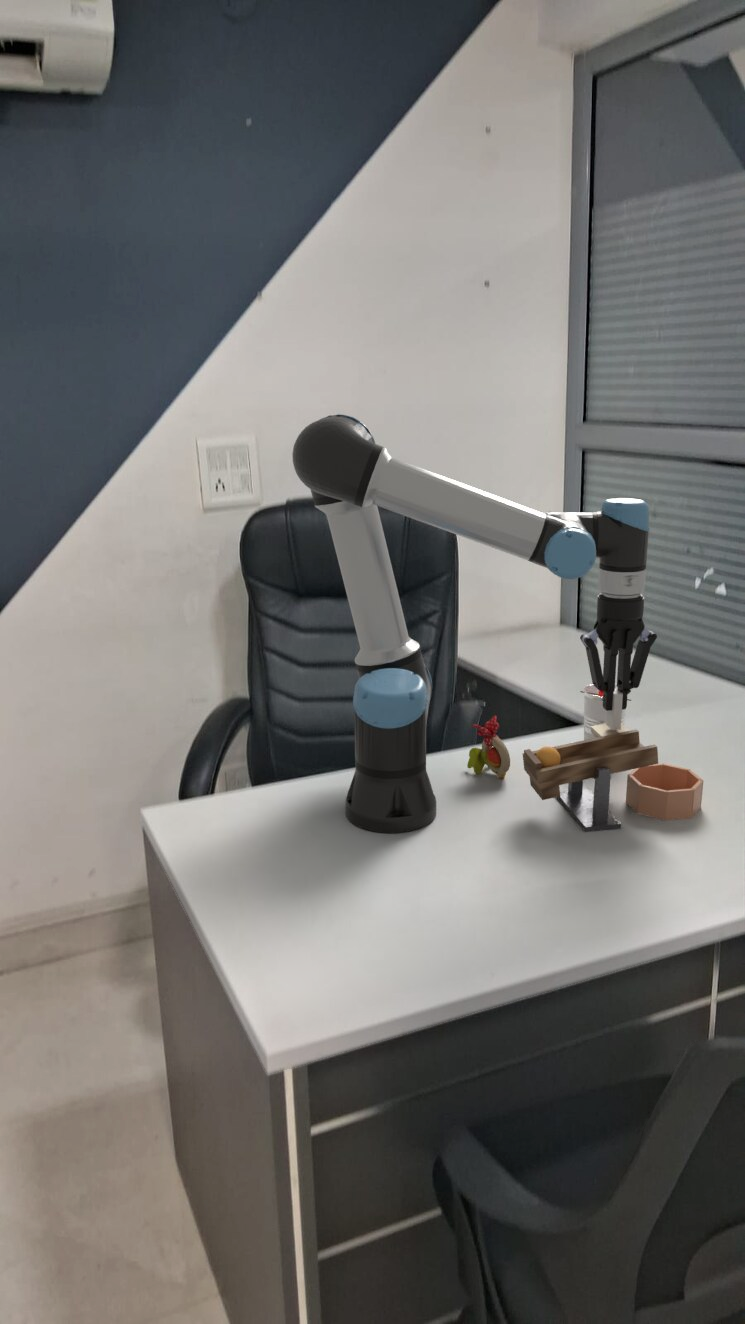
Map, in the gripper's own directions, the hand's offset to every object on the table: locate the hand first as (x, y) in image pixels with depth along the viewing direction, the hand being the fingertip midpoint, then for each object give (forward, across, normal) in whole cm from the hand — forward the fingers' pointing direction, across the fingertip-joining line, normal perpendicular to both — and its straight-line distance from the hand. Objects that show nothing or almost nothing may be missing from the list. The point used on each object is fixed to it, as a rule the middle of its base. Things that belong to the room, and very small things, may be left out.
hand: (613, 727), depth 170 cm
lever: (+6, -7, -5) cm, 10 cm away
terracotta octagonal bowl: (+11, +6, -8) cm, 15 cm away
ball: (+1, -15, -8) cm, 17 cm away
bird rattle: (+11, -18, +10) cm, 24 cm away
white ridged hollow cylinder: (+12, +6, +17) cm, 21 cm away
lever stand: (+11, -8, -8) cm, 16 cm away
